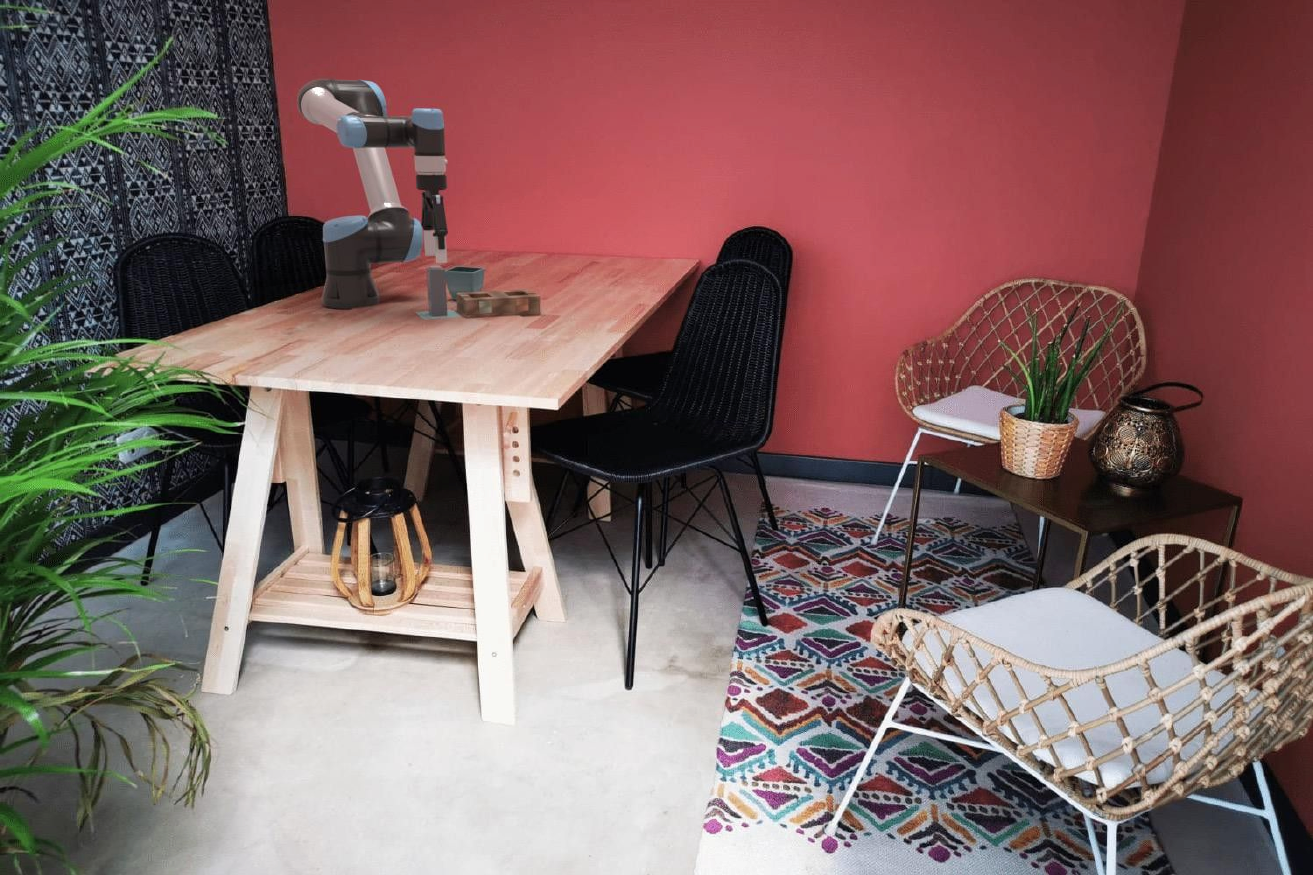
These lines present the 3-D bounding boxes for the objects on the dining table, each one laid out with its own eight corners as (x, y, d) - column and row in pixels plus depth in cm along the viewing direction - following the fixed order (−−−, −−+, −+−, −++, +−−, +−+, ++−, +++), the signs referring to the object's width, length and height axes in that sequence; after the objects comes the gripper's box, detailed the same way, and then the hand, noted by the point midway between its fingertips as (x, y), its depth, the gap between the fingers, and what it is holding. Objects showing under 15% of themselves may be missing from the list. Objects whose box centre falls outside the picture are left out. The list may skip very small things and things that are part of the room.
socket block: (466, 319, 244) (466, 299, 242) (456, 311, 254) (456, 292, 252) (540, 314, 252) (540, 295, 250) (528, 307, 262) (528, 288, 260)
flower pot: (474, 304, 264) (473, 272, 261) (445, 302, 265) (443, 270, 262) (486, 298, 272) (485, 267, 269) (457, 297, 273) (456, 266, 270)
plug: (432, 316, 245) (429, 267, 241) (428, 313, 248) (426, 265, 244) (447, 315, 246) (445, 267, 242) (444, 312, 250) (441, 265, 246)
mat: (422, 321, 241) (422, 319, 241) (415, 313, 250) (415, 312, 249) (461, 318, 245) (461, 317, 245) (452, 311, 254) (452, 309, 253)
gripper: (457, 176, 226) (461, 264, 233) (435, 171, 248) (440, 252, 254) (426, 176, 223) (431, 266, 230) (406, 171, 245) (411, 253, 251)
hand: (435, 259), depth 242 cm, fingers open, 13 cm apart
